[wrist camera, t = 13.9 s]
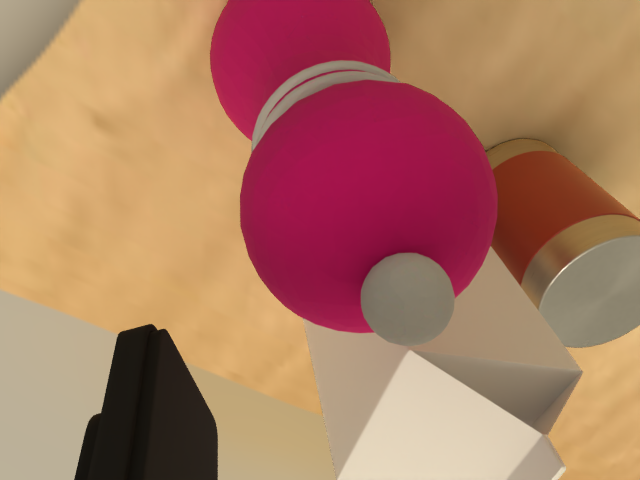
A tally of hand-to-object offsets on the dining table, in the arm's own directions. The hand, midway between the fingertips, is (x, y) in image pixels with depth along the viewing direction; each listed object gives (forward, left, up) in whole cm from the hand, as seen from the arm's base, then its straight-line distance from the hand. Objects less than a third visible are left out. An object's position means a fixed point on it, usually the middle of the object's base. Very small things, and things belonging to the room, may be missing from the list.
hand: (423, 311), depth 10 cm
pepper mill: (0, 0, -20) cm, 20 cm away
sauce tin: (-11, +12, -20) cm, 25 cm away
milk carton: (-2, +11, -20) cm, 23 cm away
